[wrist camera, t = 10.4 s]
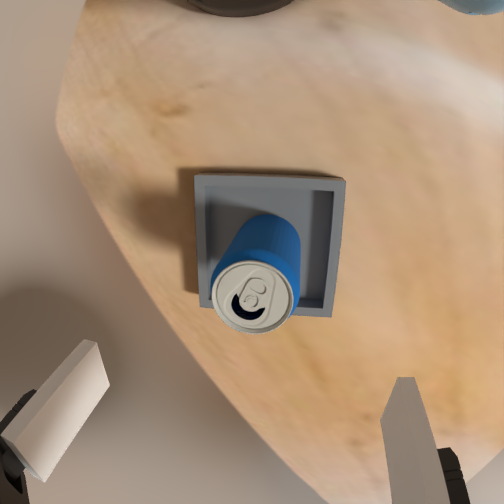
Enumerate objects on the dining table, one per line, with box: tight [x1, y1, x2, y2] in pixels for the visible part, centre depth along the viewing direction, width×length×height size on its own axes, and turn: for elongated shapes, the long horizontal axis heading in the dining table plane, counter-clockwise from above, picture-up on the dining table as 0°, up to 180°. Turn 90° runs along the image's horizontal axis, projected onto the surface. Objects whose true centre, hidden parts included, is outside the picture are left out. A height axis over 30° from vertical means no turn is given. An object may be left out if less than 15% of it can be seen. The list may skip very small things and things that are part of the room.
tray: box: [194, 172, 346, 317], centre depth 32 cm, size 14×14×2 cm
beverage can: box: [210, 214, 301, 334], centre depth 27 cm, size 6×6×12 cm
